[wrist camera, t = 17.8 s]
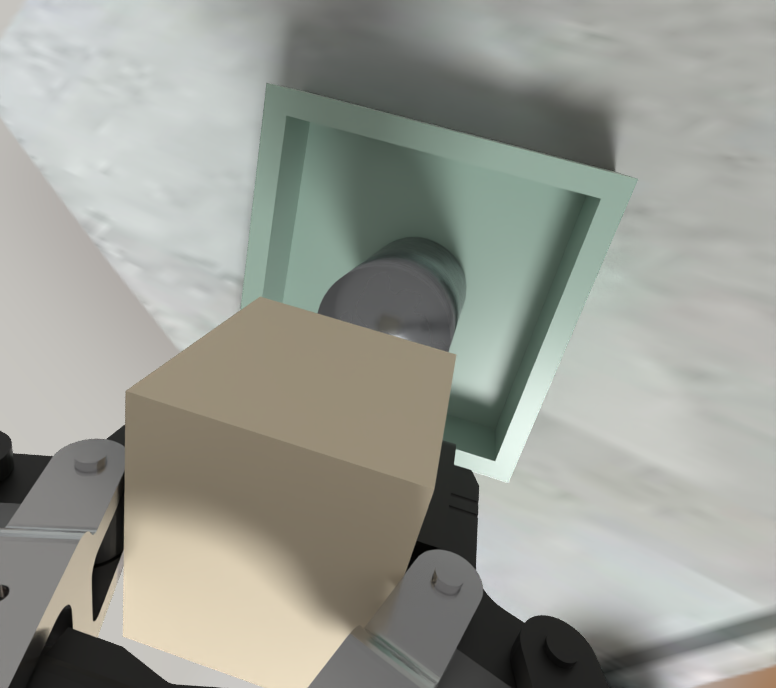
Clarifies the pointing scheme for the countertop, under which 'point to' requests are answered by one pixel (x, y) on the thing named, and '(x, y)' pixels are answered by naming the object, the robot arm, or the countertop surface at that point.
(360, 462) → the carton
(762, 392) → the countertop surface
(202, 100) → the countertop surface
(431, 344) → the tin
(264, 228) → the tote
